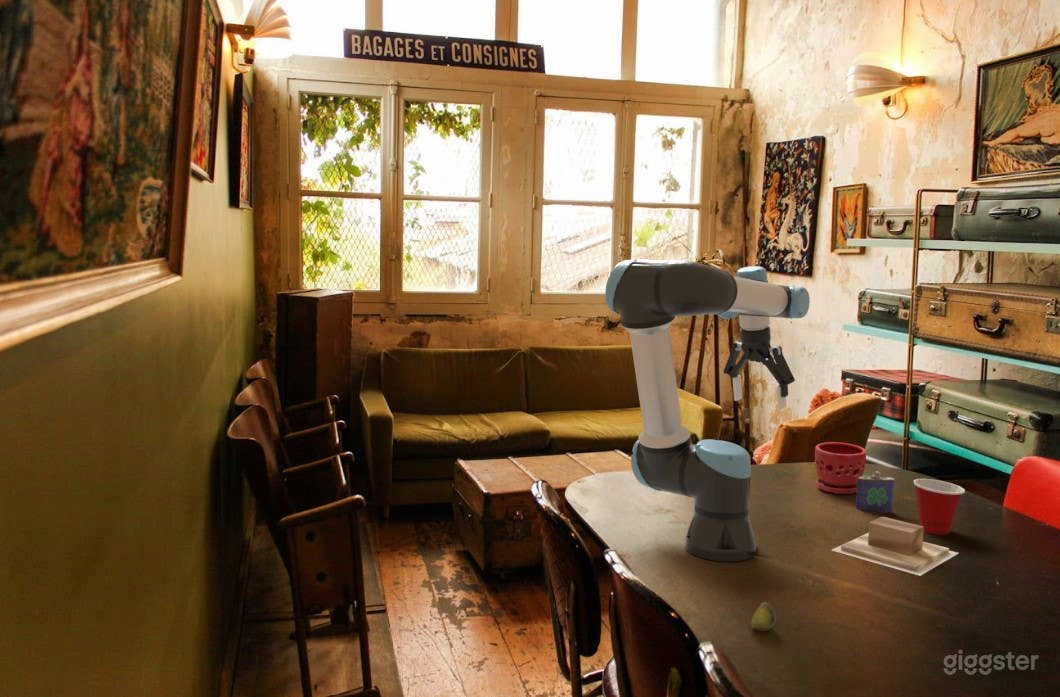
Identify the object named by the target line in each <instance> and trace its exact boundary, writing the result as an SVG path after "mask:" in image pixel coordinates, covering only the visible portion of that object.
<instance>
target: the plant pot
mask: <svg viewBox="0 0 1060 697" xmlns="http://www.w3.org/2000/svg"><path fill="white" fill-rule="evenodd" d="M836 452H837V453H836ZM866 460H867V451H866V449H865V447H862V446H859V445H857V444H851V443H846V442H836V441H834V442H831V441H830V442H822V443H818V444H817V445H816V446H815V448H814V466H815V470H816V474H817V476H818V478H817V479H816V481H815V482H816V485H817V487H818V488H819V489H821V490H823V491H825V492H829V493H832V494H839V495H849V494H855V493H857V478H858V477H863V476H864V472H865V469H866V463H867V461H866Z"/></svg>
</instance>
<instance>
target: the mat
mask: <svg viewBox="0 0 1060 697" xmlns="http://www.w3.org/2000/svg"><path fill="white" fill-rule="evenodd" d="M868 533H869V532H867V533H865V534H862V535H860V536H858V537H856V538H854V539H851V540H850V541H848V542H851V541H853V540H855V539H857V538H859V537H861V536H863V535H866V534H868ZM848 542H845V543H843V544H841V545H839V546H837V547H835V548H832V549H831V551H832V552H836V553H839V554H843V555H847V556H849V557H852V558H857V559H861V560H863V561H868V562H870V563H874V564H877V565H881V566H885V567H888V568H891V569H895V570H899V571H902V572H906V573H909V574H912V575H916V576H923V575H924V574H926V573H928V572H929V571H931V570H933V569H934V568H936V567H938V566H940V565H941V564H943V563H945V562H947V561H948V560H950V559H952V558H953V557H955V556H957V555H958V554H959V552H957V551H953V550H949V553H947V554H946V555H944V556H942V557H941V558H939V559H937V560H935V561H934V562H932V563H930V564H928V565H927V566H925V567H923V568H921V569H920V570H918V571H916V572H915V571H912V570H908V569H905V568H901V567H898V566H894V565H891V564H887V563H884V562H880V561H877V560H873V559H870V558H866V557H863V556H859V555H856V554H852V553H849V552H845V551H842V550H841V546H842V545H844V544H846V543H848Z"/></svg>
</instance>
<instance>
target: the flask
mask: <svg viewBox="0 0 1060 697" xmlns="http://www.w3.org/2000/svg"><path fill="white" fill-rule="evenodd" d="M874 472H875V473H873V475H867V476H866V475H864V474H863V475H862V477H858V478H857V492H856V497H855V498H856V500H855V509H857V510H860V511H867V512H870V513H874V514H878V515H893V514H894V508H895V507H894V505H895V490H896V489H895V486H896V479H895V478H893V477H890V476H887V477H881V475H882V473H881V472H880V471H877V470H875V471H874Z"/></svg>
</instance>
